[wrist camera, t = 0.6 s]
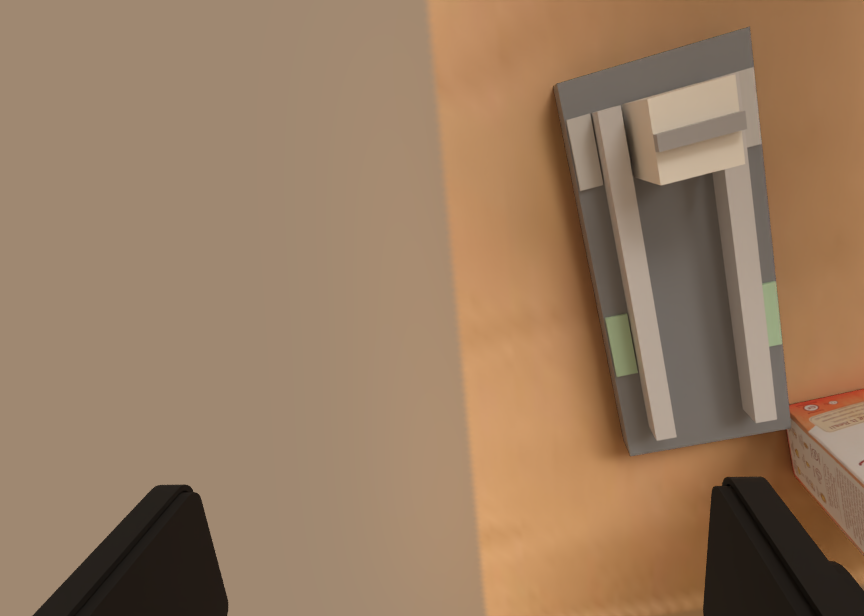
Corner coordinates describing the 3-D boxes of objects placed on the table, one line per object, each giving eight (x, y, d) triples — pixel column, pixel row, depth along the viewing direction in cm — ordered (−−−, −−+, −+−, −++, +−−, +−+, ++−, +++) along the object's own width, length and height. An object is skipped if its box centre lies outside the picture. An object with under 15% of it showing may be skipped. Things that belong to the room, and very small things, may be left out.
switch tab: (694, 84, 29) (741, 72, 24) (704, 158, 30) (751, 164, 25) (621, 104, 30) (650, 98, 24) (633, 177, 31) (664, 186, 26)
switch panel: (733, 33, 30) (766, 19, 27) (775, 413, 37) (806, 443, 33) (553, 86, 32) (561, 80, 28) (623, 440, 38) (637, 472, 35)
